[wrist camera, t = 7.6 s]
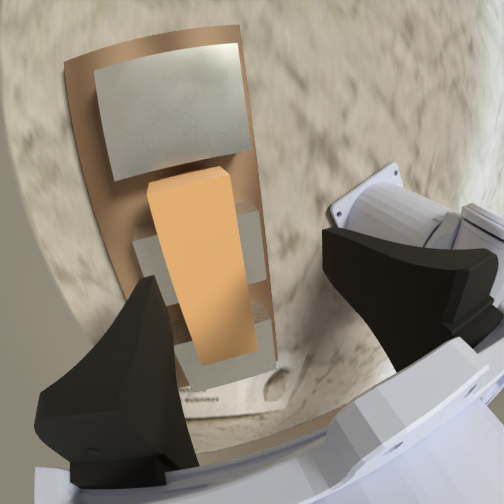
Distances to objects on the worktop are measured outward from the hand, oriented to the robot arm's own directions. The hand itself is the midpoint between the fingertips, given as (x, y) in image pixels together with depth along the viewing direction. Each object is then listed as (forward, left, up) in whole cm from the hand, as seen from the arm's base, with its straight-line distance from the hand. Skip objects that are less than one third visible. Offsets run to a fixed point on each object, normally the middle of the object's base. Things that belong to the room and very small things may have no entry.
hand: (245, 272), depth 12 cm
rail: (-2, +2, -10) cm, 10 cm away
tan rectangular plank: (-2, +2, -9) cm, 10 cm away
